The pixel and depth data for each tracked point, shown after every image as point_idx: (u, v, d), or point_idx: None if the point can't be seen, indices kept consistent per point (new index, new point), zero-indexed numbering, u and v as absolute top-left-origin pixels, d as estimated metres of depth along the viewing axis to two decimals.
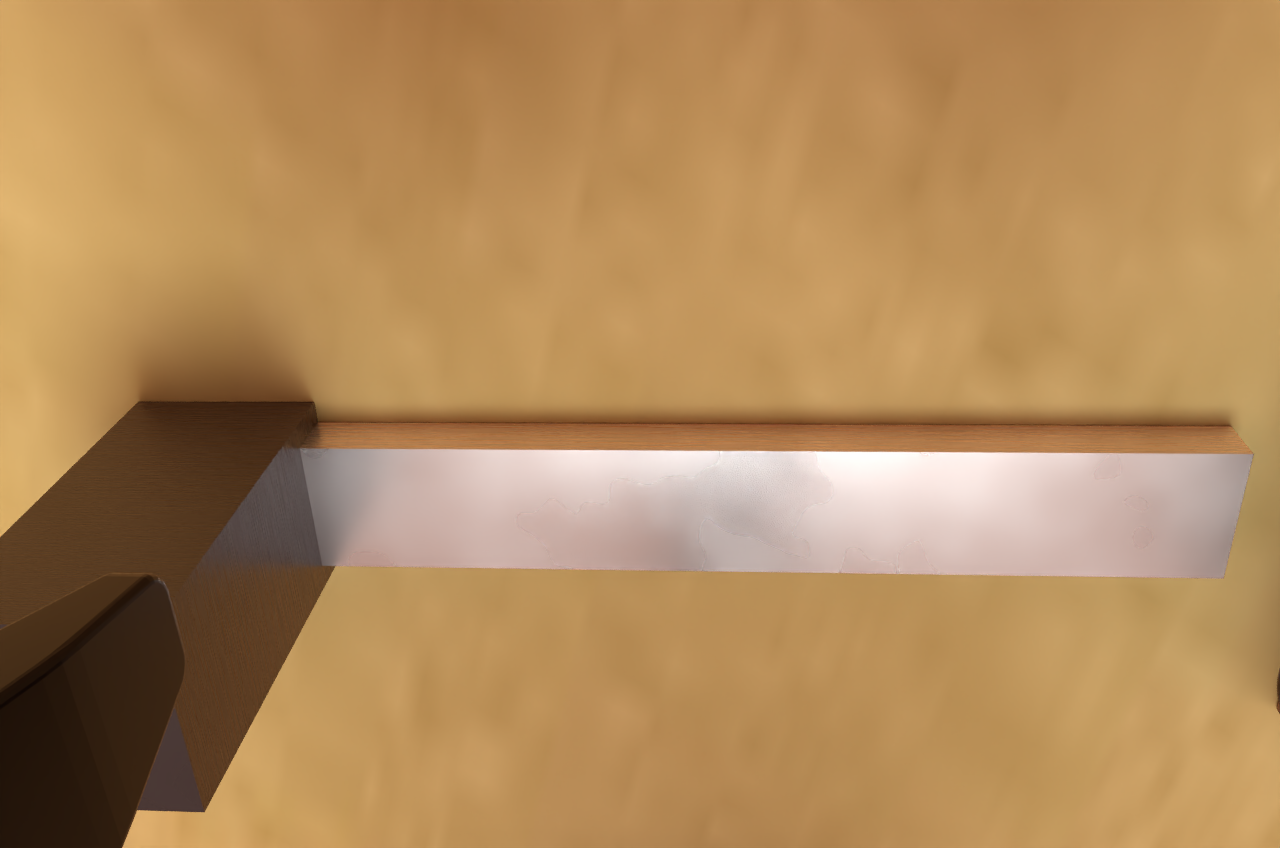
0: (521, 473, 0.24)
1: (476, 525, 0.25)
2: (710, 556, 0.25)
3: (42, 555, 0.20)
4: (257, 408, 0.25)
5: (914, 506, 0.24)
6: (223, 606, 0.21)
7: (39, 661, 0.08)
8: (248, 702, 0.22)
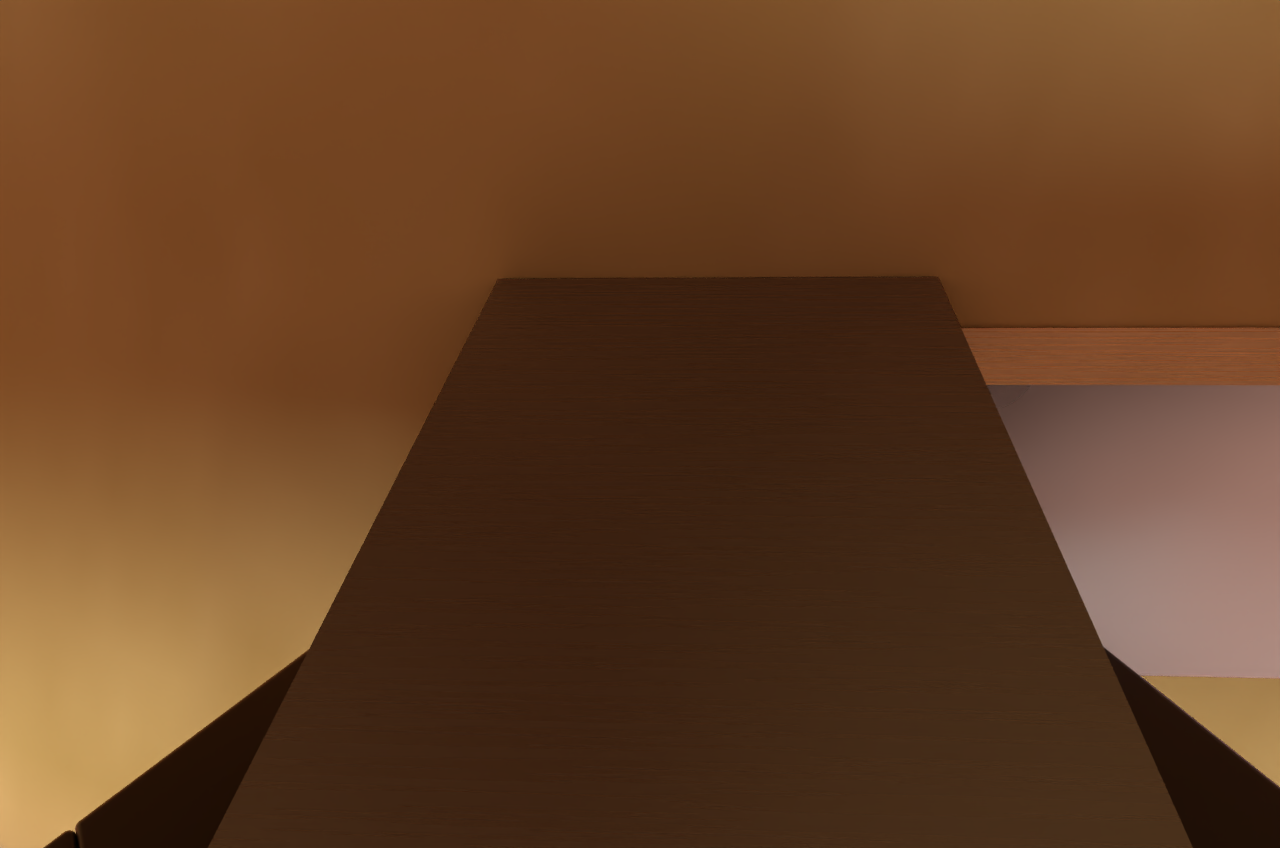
0: None
1: None
2: None
3: (499, 745, 0.05)
4: (810, 289, 0.10)
5: None
6: None
7: None
8: None
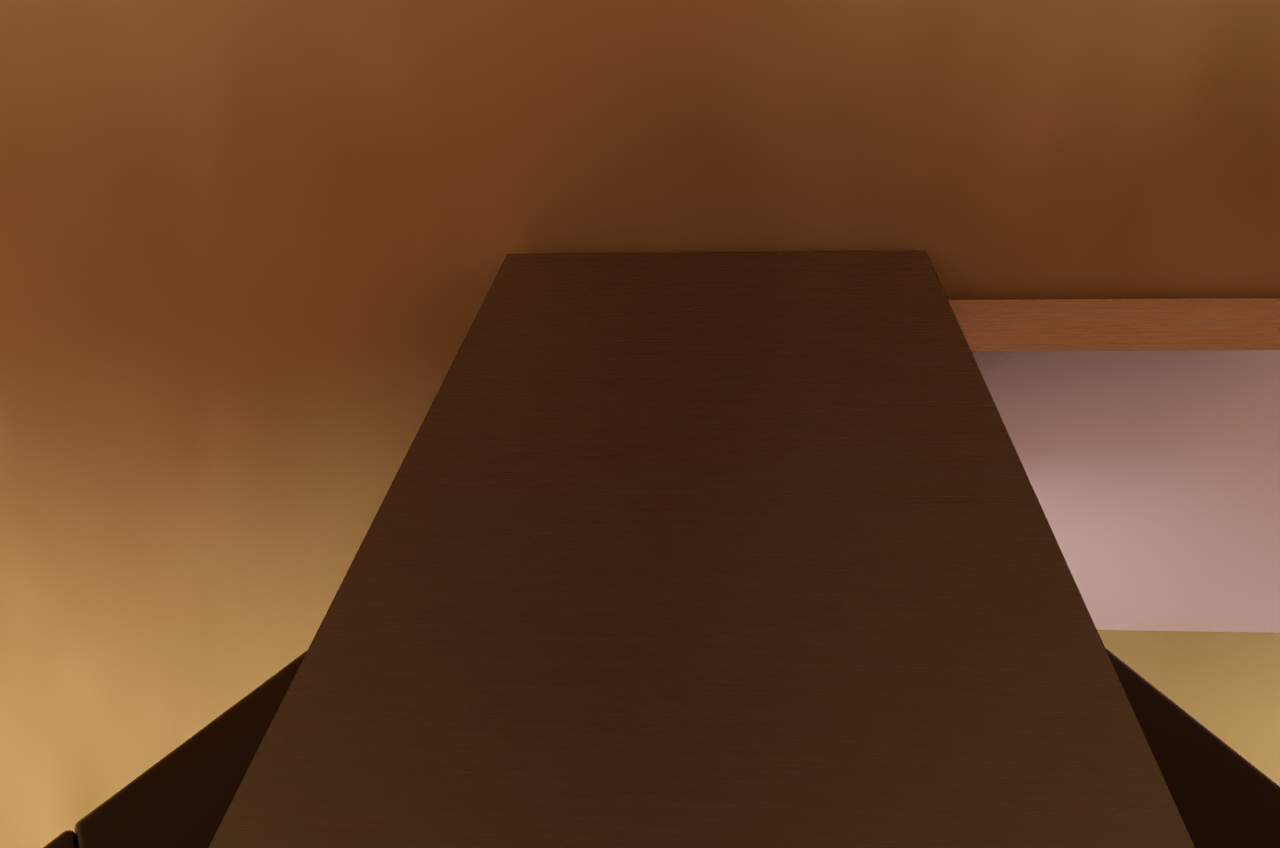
0: None
1: None
2: None
3: (520, 656, 0.06)
4: (803, 263, 0.11)
5: None
6: None
7: None
8: None
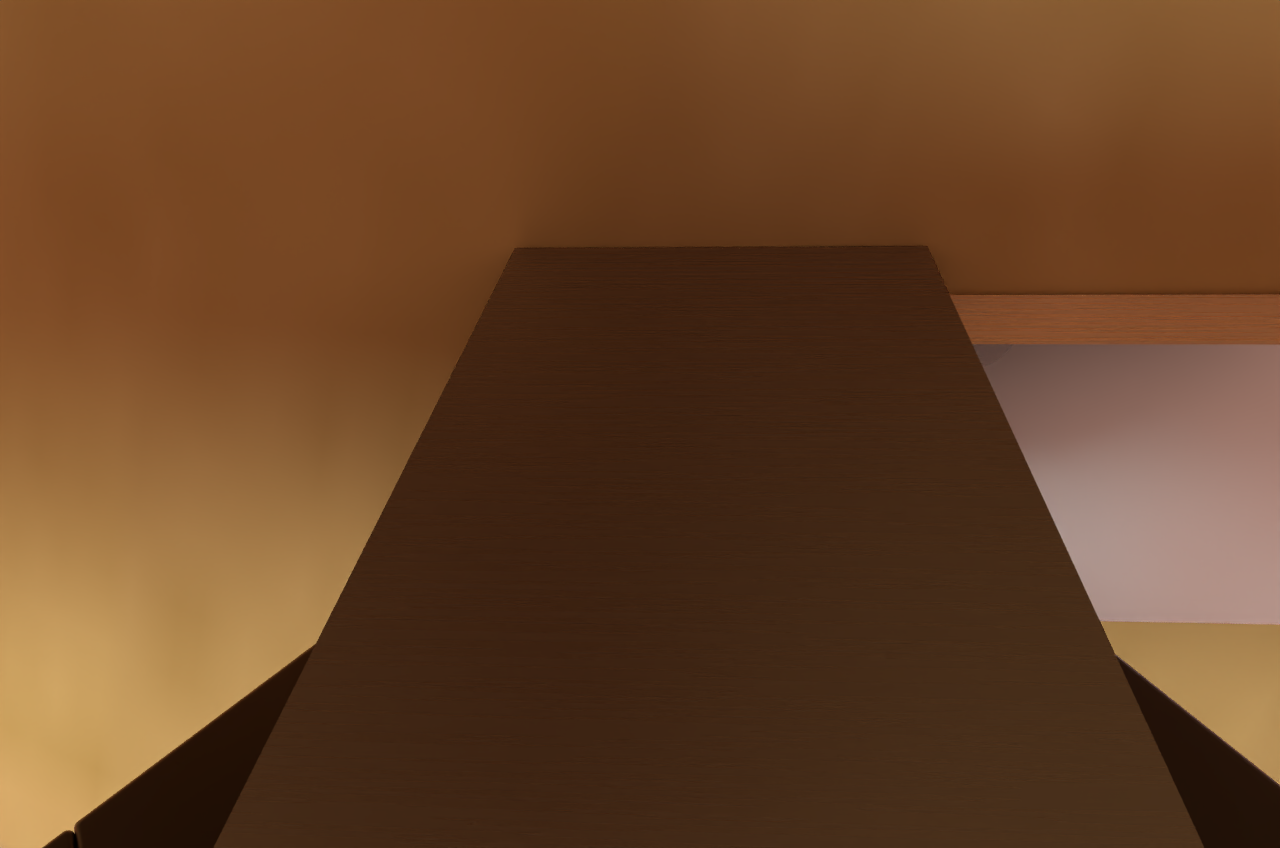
0: None
1: None
2: None
3: (533, 630, 0.06)
4: (807, 258, 0.11)
5: None
6: None
7: None
8: None
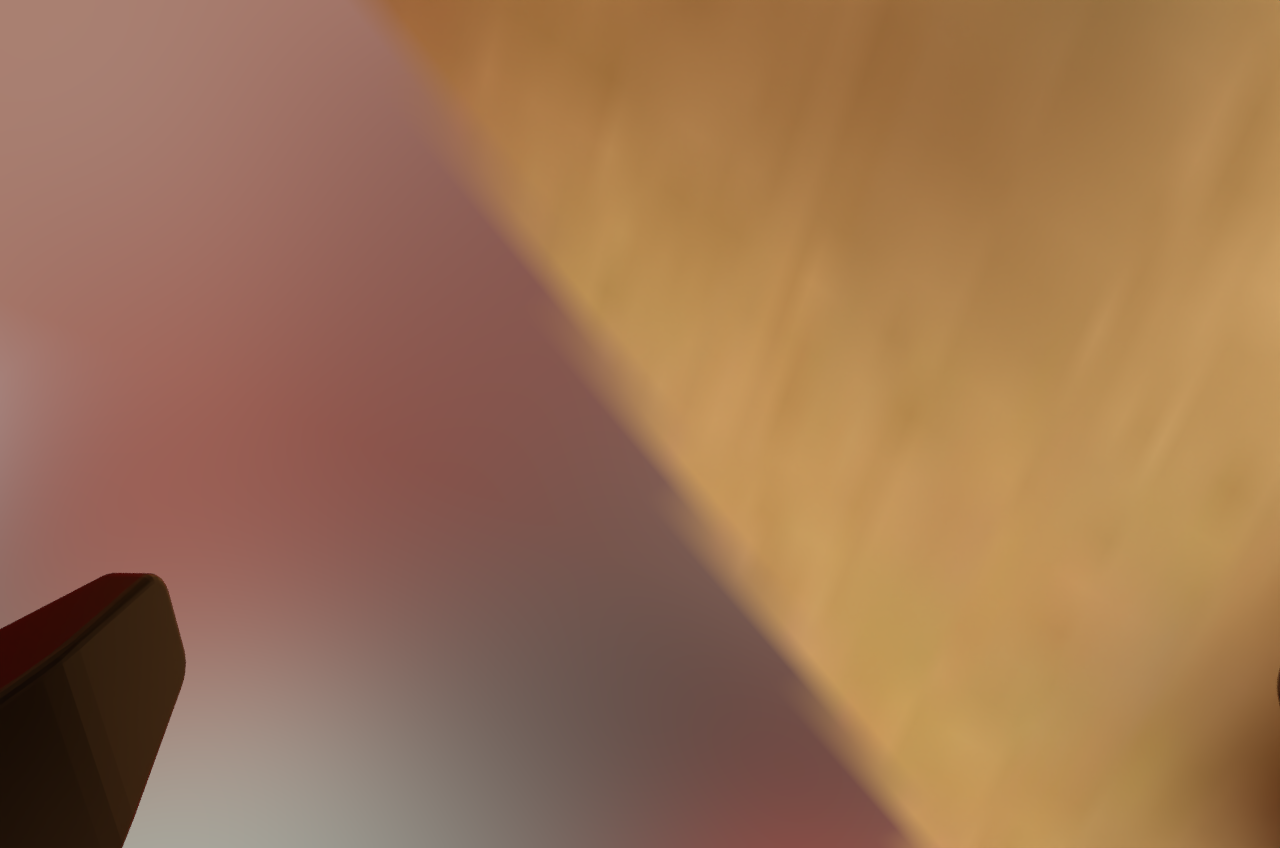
0: None
1: None
2: None
3: None
4: None
5: None
6: None
7: (40, 661, 0.08)
8: None
